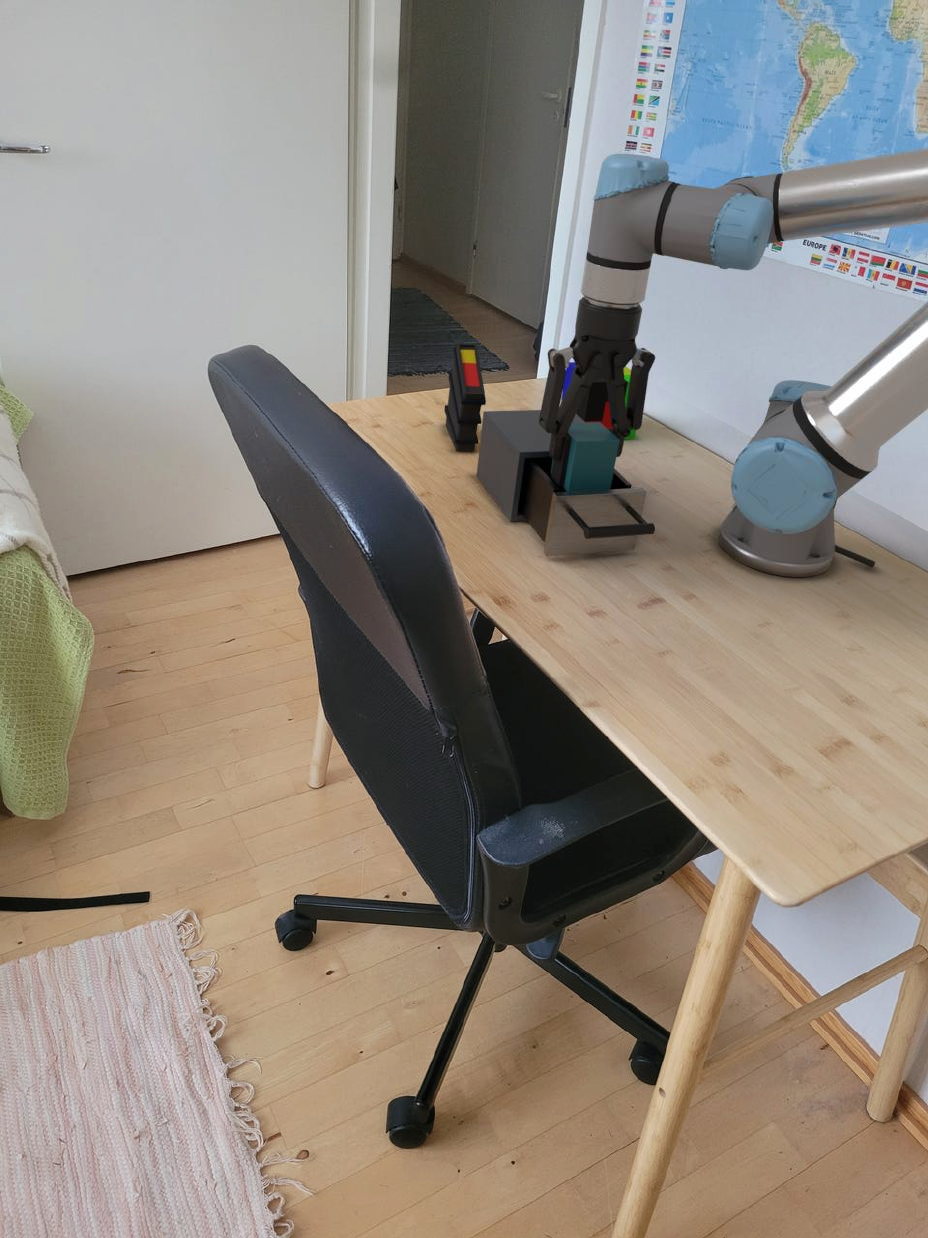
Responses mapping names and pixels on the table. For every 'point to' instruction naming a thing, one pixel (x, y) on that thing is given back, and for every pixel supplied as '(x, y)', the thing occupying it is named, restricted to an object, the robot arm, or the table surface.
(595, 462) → the block
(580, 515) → the drawer
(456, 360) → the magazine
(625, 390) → the puzzle toy
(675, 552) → the table surface
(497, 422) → the cabinet
